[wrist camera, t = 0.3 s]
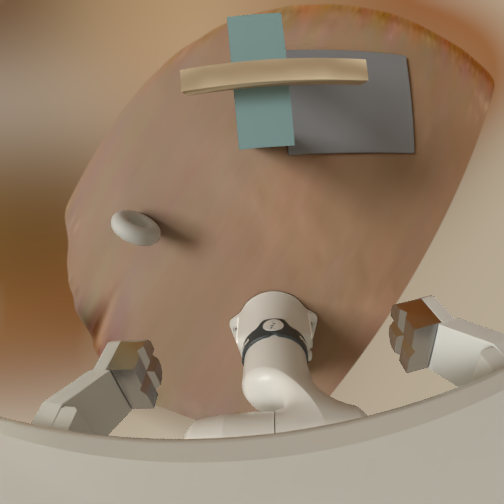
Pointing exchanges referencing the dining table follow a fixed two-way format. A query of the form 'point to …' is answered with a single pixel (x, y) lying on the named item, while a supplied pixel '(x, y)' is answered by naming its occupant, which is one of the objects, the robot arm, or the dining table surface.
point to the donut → (135, 228)
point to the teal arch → (260, 98)
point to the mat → (354, 108)
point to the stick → (273, 74)
